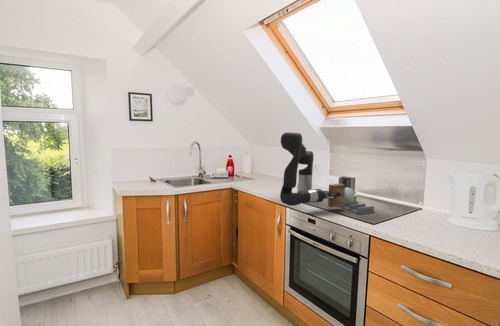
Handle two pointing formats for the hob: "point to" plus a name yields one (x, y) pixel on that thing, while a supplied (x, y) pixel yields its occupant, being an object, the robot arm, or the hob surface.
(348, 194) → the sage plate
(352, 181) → the coffee box
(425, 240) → the hob surface
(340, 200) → the walnut board
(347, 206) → the dish rack
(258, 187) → the hob surface
